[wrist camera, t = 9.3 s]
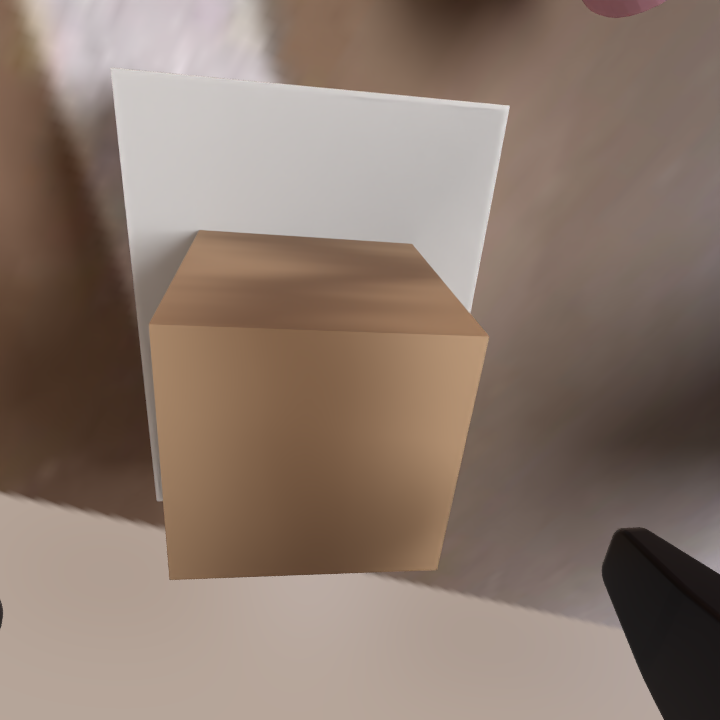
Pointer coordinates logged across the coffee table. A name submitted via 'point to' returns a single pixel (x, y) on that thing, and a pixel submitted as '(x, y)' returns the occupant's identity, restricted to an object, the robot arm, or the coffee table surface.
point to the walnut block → (309, 406)
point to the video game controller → (620, 7)
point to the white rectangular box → (297, 176)
